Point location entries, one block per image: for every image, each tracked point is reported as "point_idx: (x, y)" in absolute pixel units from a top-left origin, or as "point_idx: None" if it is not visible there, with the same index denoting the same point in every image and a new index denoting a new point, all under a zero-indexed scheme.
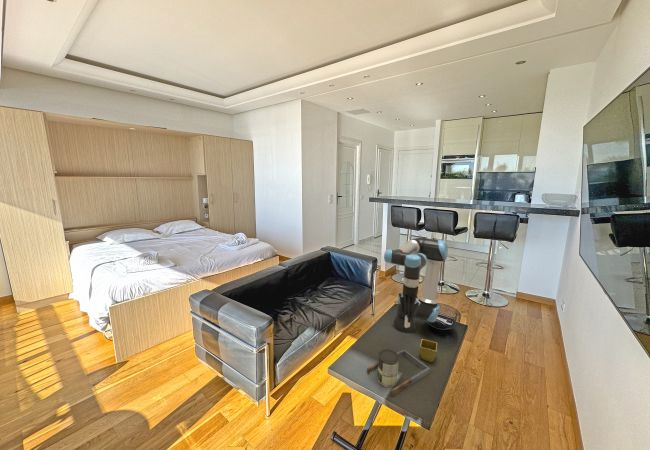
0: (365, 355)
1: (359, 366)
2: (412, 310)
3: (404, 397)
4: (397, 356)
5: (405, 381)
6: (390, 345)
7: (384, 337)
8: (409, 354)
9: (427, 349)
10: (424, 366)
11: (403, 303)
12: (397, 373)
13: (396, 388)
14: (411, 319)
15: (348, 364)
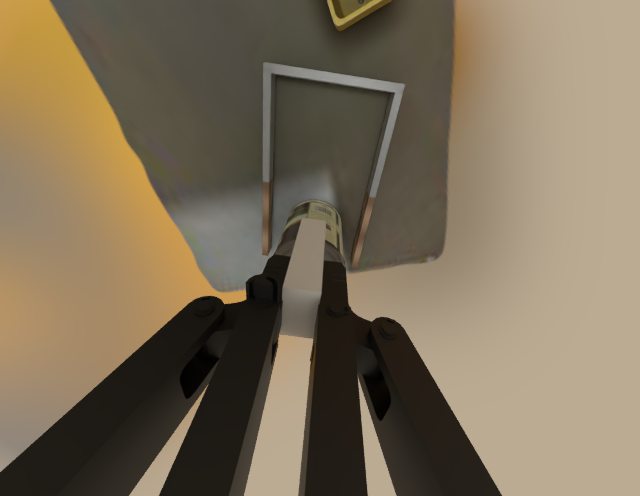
0: (206, 198)
1: (237, 244)
2: (355, 407)
3: (378, 239)
4: (331, 252)
5: (364, 217)
6: (198, 62)
7: (135, 27)
8: (301, 75)
9: (375, 4)
10: (381, 90)
11: (112, 485)
12: (340, 230)
13: (359, 253)
14: (346, 286)
15: (217, 258)
